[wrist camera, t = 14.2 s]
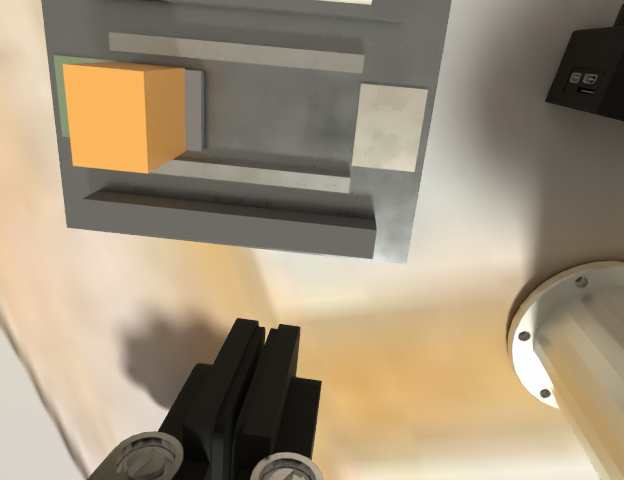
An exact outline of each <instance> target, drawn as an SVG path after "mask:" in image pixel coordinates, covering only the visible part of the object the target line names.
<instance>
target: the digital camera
mask: <svg viewBox="0 0 624 480" xmlns="http://www.w3.org/2000/svg"><path fill="white" fill-rule="evenodd" d="M545 102H549V103H553V104H557V105H561V106H565V107H569V108H573V109H577V110H581V111H585V112H589V113H593V114H597V115H601V116H605V117H609V118H613V119H617V120H621V121H624V4H622V6H621V9H620V11H619V14H618V16H617V18H616V21H615V23H614V26H613V27H606V28H596V29H586V30H577V31H574V32H573V34H572V36H571V39H570V41H569V44H568V46H567V48H566V51H565V53H564V56H563V58H562V61H561V63H560V66H559V68H558V71H557V73H556V76H555V78H554V81H553V83H552V86H551V88H550V91H549V93H548V96H547V98H546V101H545Z"/></svg>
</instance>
